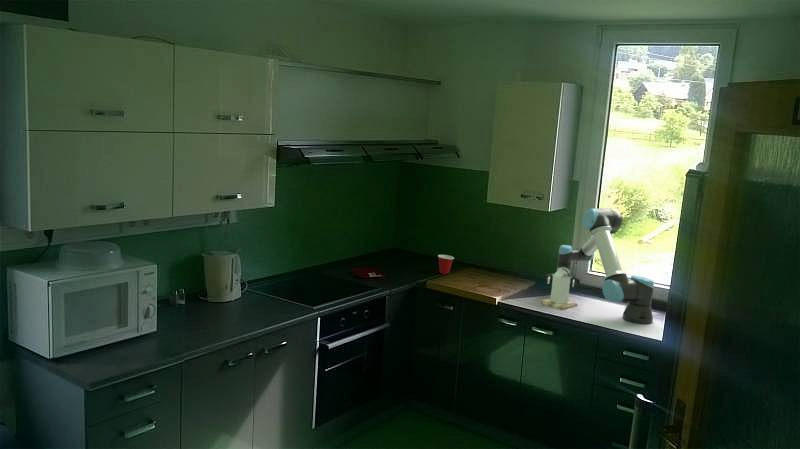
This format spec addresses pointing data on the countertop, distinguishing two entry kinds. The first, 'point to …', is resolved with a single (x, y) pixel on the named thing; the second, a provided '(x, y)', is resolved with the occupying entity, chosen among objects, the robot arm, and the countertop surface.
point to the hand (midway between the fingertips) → (560, 283)
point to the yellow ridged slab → (559, 306)
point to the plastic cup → (445, 263)
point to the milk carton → (560, 287)
